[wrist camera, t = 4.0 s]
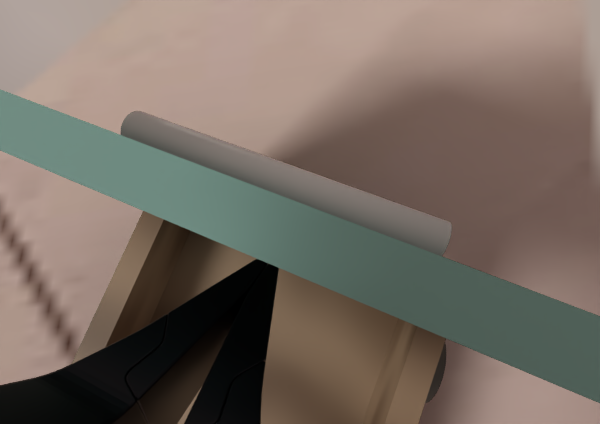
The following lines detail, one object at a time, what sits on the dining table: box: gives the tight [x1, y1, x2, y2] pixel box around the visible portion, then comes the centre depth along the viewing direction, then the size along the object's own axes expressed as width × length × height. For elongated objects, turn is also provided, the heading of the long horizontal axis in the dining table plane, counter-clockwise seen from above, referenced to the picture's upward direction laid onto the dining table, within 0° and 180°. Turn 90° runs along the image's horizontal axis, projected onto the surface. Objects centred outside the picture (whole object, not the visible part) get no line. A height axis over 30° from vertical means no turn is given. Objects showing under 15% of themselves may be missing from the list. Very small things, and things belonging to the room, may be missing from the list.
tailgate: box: [0, 90, 600, 403], centre depth 11 cm, size 2×15×11 cm, turn 68°
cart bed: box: [72, 211, 446, 424], centre depth 15 cm, size 14×17×6 cm
